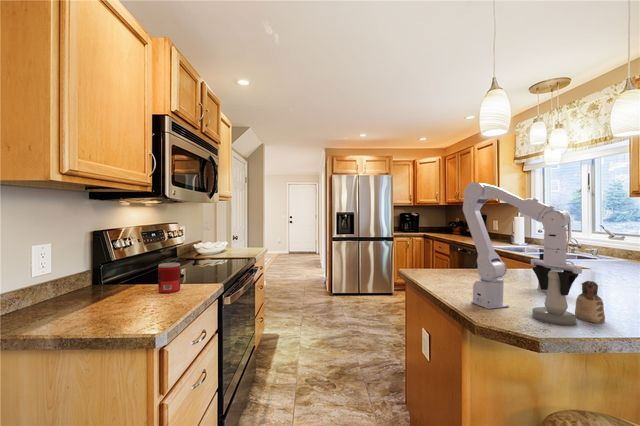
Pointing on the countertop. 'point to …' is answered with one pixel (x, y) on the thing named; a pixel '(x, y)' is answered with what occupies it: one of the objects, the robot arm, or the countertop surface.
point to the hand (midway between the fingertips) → (554, 292)
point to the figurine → (590, 304)
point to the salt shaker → (555, 295)
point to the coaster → (553, 317)
